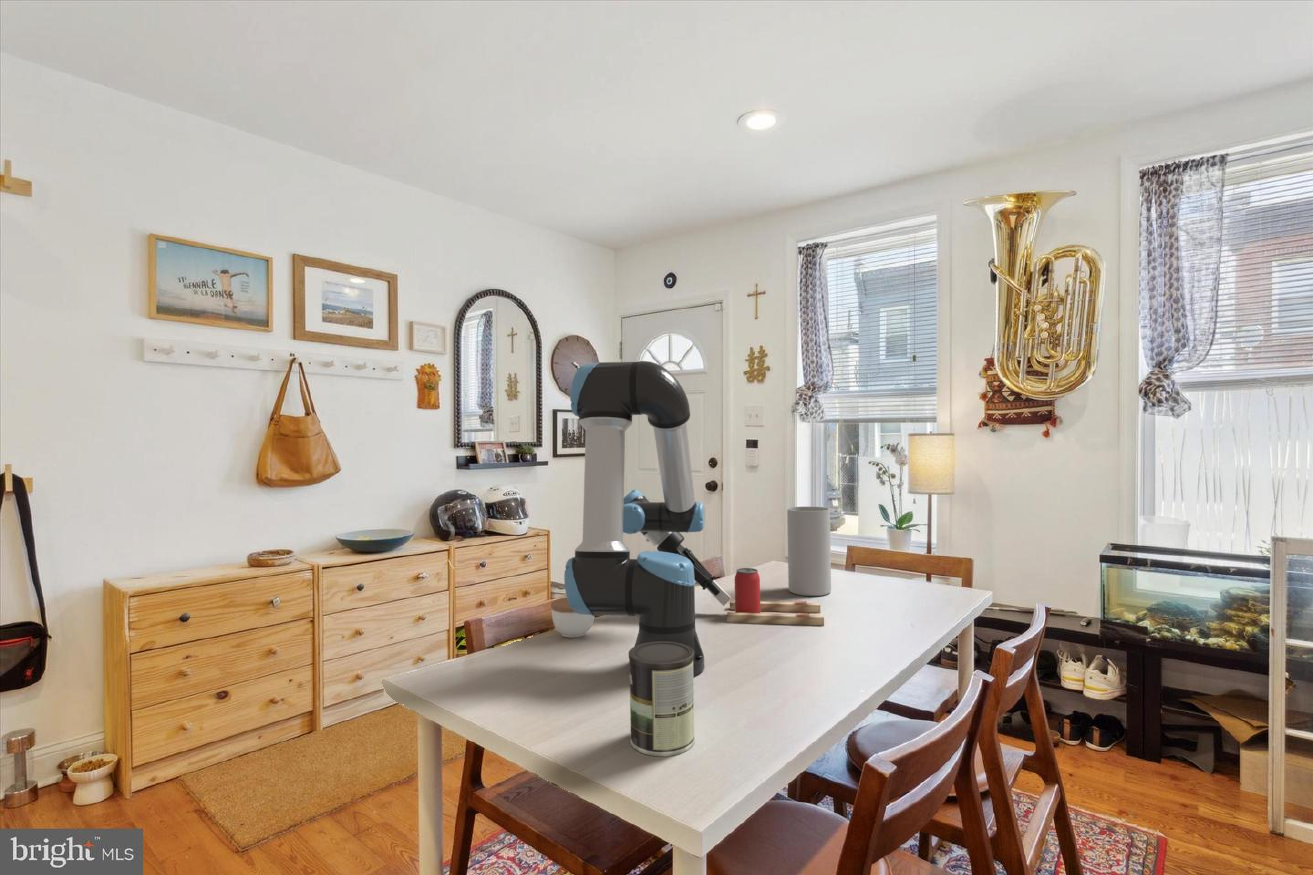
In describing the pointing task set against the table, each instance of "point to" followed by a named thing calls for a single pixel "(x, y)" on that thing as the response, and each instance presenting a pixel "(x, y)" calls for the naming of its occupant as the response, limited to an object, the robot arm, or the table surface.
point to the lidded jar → (569, 619)
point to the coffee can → (661, 698)
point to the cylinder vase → (809, 551)
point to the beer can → (747, 591)
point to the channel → (780, 618)
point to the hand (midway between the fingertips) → (727, 601)
